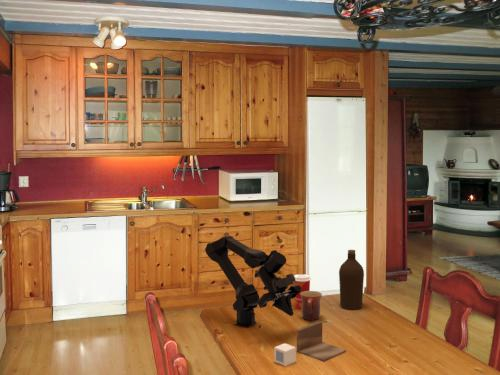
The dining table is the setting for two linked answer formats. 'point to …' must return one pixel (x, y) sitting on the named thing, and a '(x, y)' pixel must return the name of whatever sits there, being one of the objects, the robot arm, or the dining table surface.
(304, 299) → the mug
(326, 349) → the bookend
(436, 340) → the dining table surface
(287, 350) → the letter cube
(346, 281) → the olive oil
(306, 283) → the paper cup
